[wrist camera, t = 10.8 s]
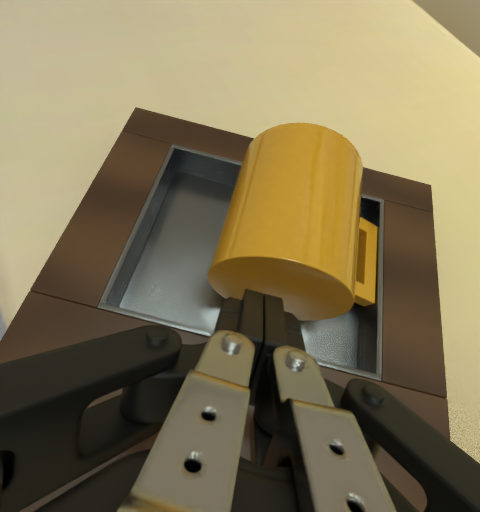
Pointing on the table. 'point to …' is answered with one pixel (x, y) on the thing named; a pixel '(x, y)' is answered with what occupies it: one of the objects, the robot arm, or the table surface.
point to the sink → (200, 256)
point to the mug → (298, 225)
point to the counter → (106, 323)
